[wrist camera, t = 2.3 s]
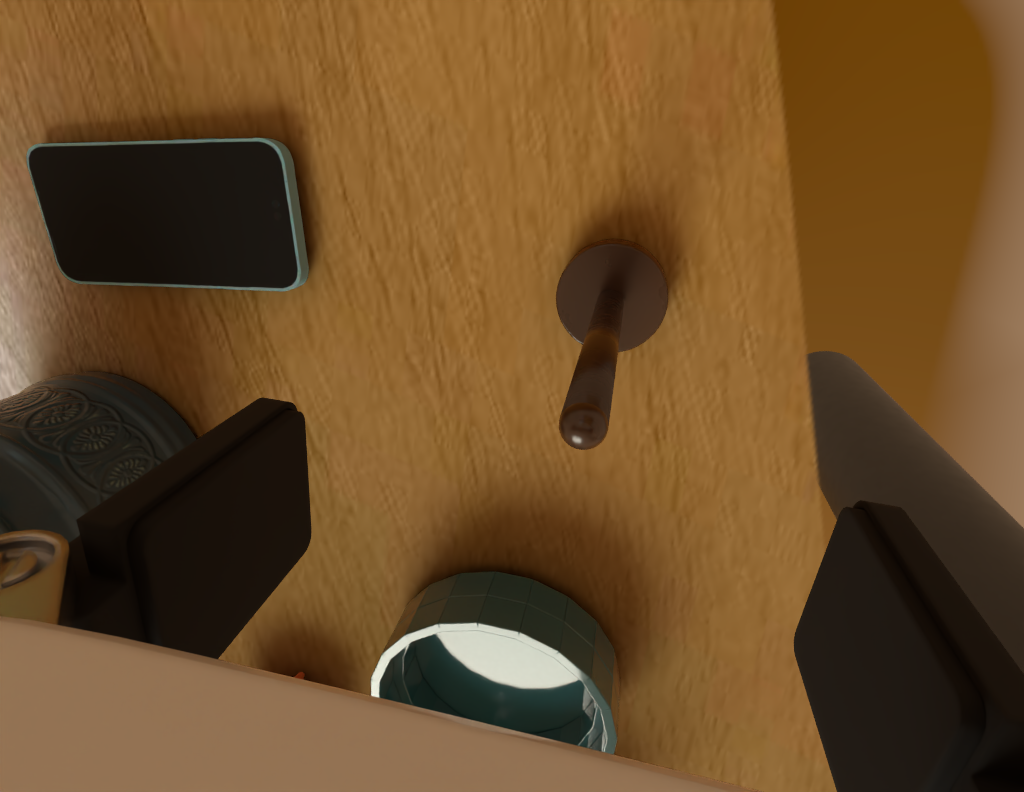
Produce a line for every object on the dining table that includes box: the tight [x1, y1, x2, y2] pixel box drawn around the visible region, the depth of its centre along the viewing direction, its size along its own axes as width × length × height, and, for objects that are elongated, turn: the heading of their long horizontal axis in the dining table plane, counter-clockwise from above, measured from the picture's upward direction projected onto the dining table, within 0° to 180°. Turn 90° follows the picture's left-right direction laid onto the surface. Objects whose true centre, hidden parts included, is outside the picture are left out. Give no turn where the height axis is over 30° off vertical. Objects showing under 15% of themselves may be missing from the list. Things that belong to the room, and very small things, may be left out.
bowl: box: [371, 571, 620, 755], centre depth 36 cm, size 14×14×5 cm
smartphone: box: [26, 138, 309, 291], centre depth 31 cm, size 7×1×15 cm
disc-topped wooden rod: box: [556, 239, 668, 450], centre depth 21 cm, size 5×5×16 cm
